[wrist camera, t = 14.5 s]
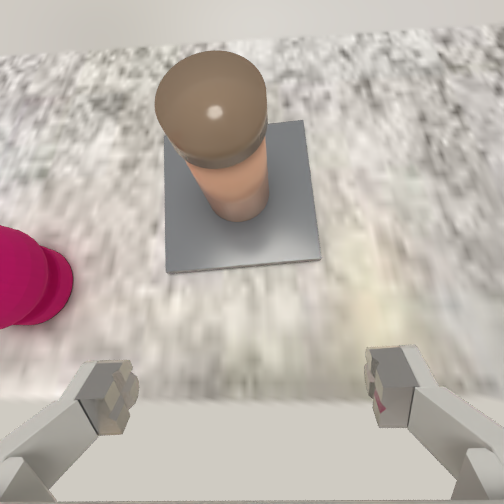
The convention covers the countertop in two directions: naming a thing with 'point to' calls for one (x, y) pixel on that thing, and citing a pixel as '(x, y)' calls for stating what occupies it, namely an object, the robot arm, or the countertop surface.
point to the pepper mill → (30, 280)
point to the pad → (251, 231)
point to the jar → (219, 129)
